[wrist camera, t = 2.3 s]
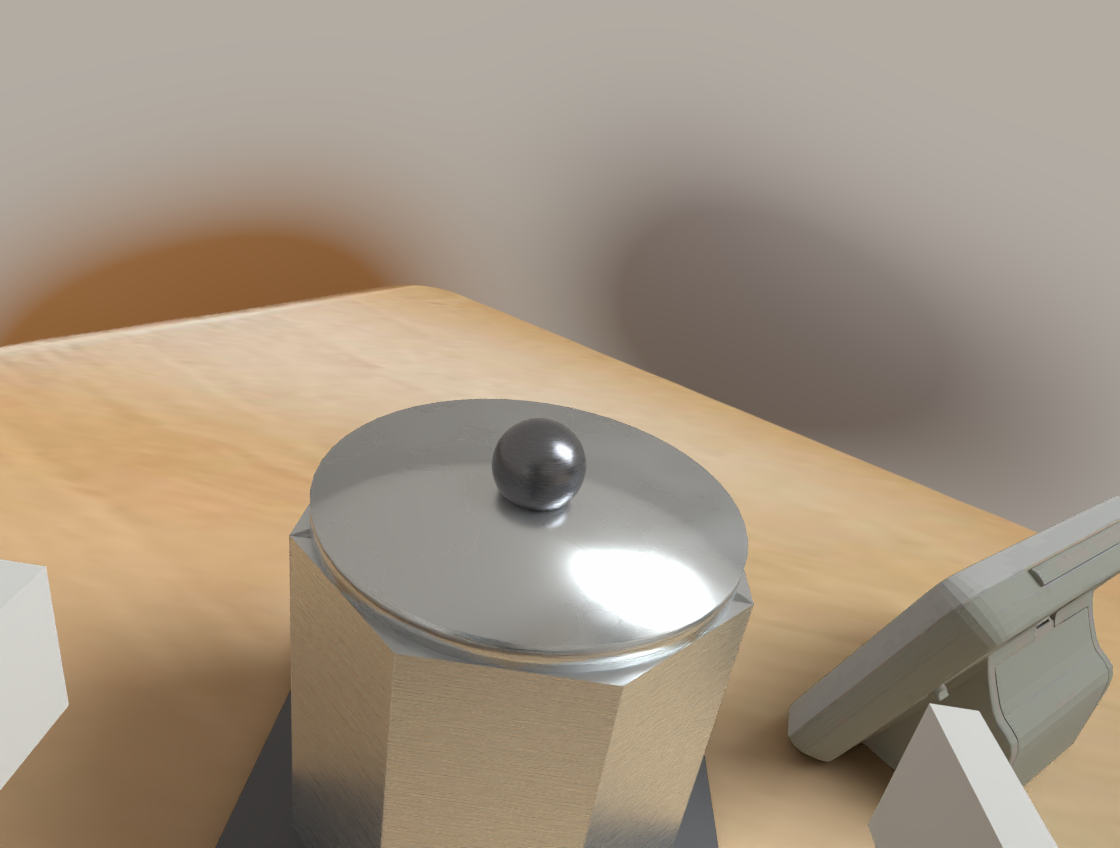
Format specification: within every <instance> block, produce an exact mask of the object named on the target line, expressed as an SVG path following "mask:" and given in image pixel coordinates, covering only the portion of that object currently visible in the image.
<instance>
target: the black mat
mask: <svg viewBox="0 0 1120 848" xmlns="http://www.w3.org/2000/svg"><path fill="white" fill-rule="evenodd" d="M216 848H306V847H305V846H304V844H303V842H302V841H301V839H300V837H299V836H298V834H297V832H296V831H295V829H294V828H293V827H292V737H291V690H290V692H289V695H288V697H287V699H286V701H285V703H284V705H283V707H282V709H281V711H280V713H279V716H278V718H277V720H276V722H275V724H274V726H273V728H272V730H271V732H270V734H269V737H268V739H267V741H266V743H265V745H264V747H263V749H262V751H261V753H260V755H259V758H258V760H257V762H256V764H255V766H254V768H253V770H252V772H251V774H250V776H249V779H248V781H247V783H246V785H245V787H244V789H243V791H242V793H241V795H240V797H239V800H238V802H237V804H236V806H235V808H234V810H233V812H232V814H231V816H230V818H229V821H228V823H227V825H226V827H225V829H224V831H223V833H222V835H221V837H220V839H219V842H218V844H217V846H216ZM673 848H718V842H717V835H716V829H715V822H714V815H713V809H712V802H711V795H710V789H709V782H708V776H707V769H706V762H705V756H703V759H702V762H701V765H700V768H699V771H698V774H697V777H696V780H695V783H694V786H693V789H692V792H691V795H690V798H689V801H688V805H687V808H686V811H685V814H684V817H683V820H682V823H681V826H680V829H679V832H678V835H677V838H676V841H675V844H674V847H673Z"/></svg>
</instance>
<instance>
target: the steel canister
mask: <svg viewBox="0 0 1120 848" xmlns="http://www.w3.org/2000/svg"><path fill="white" fill-rule="evenodd" d="M289 544H290V640H291V737H292V827H293V828H294V829H295V831H296V832H297V834H298V836H299V837H300V839H301V841H302V842H303V844H304V846H305V847H306V848H673V847H674V844H675V841H676V838H677V835H678V832H679V829H680V826H681V823H682V820H683V817H684V814H685V811H686V808H687V805H688V801H689V798H690V795H691V792H692V789H693V786H694V783H695V780H696V777H697V774H698V771H699V768H700V765H701V762H702V759H703V756H704V753H705V750H706V747H707V744H708V741H709V738H710V735H711V732H712V729H713V726H714V723H715V720H716V717H717V714H718V711H719V708H720V705H721V702H722V699H723V696H724V693H725V690H726V687H727V684H728V681H729V678H730V675H731V672H732V669H733V666H734V663H735V660H736V657H737V653H738V650H739V647H740V644H741V641H742V638H743V635H744V632H745V629H746V626H747V623H748V620H749V617H750V614H751V611H752V608H753V605H754V603H753V600H752V596H751V593H750V589H749V585H748V582H747V578H746V575H745V571H744V566H745V563H746V560H747V556H748V537H747V532H746V527H745V523H744V521H743V519H742V516H741V514H740V511H739V509H738V507H737V506H736V504H735V503H734V501H733V500H732V498H731V496H730V495H729V494H728V492H727V491H726V490H725V489H724V488H723V486H722V485H721V484H720V483H719V482H718V481H717V480H716V479H715V478H714V477H713V476H712V475H711V474H710V473H709V472H708V471H707V470H706V469H704V468H703V467H702V466H701V465H699V464H698V463H697V462H695V461H694V460H693V459H691V458H690V457H689V456H687V455H686V454H684V453H683V452H681V451H679V450H678V449H676V448H675V447H673V446H671V445H670V444H668V443H666V442H664V441H662V440H660V439H658V438H656V437H655V436H653V435H650V434H648V433H646V432H644V431H641V430H639V429H637V428H635V427H632V426H630V425H627V424H624V423H621V422H619V421H616V420H613V419H610V418H607V417H604V416H600V415H597V414H594V413H590V412H586V411H582V410H578V409H573V408H569V407H564V406H558V405H553V404H547V403H539V402H531V401H522V400H507V399H468V400H454V401H445V402H437V403H431V404H426V405H420V406H415V407H412V408H408V409H404V410H400V411H396V412H394V413H391V414H388V415H385V416H383V417H380V418H377V419H375V420H373V421H371V422H369V423H367V424H365V425H363V426H361V427H359V428H358V429H356V430H354V431H353V432H351V433H350V434H348V435H347V436H345V437H344V438H343V439H342V440H340V441H339V442H338V443H337V444H336V445H335V446H334V447H332V448H331V450H330V451H329V452H328V453H327V455H326V456H325V457H324V458H323V459H322V461H321V463H320V465H319V466H318V468H317V470H316V472H315V474H314V477H313V481H312V485H311V489H310V504H309V505H308V507H307V509H306V510H305V512H304V513H303V515H302V516H301V518H300V520H299V521H298V523H297V524H296V526H295V528H294V529H293V531H292V532H291V534H290V535H289Z"/></svg>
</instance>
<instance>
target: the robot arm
mask: <svg viewBox="0 0 1120 848" xmlns="http://www.w3.org/2000/svg"><path fill="white" fill-rule="evenodd" d="M68 706H69V703H68V697H67V691H66V685H65V679H64V672H63V666H62V660H61V654H60V648H59V642H58V636H57V630H56V624H55V618H54V612H53V606H52V600H51V594H50V588H49V582H48V576H47V569H46V566H39V565H33V564H27V563H20V562H14V561H7V560H1V559H0V790H1V789H2V787H3V786H4V785H5V784H6V782H7V781H8V780H9V779H10V778H11V776H12V775H13V774H14V773H15V771H16V770H17V769H18V768H19V766H20V765H21V764H22V763H23V761H24V760H25V759H26V758H27V756H28V755H29V754H30V753H31V752H32V750H33V749H34V748H35V747H36V745H37V744H38V743H39V742H40V740H41V739H42V738H43V737H44V735H45V734H46V733H47V732H48V730H49V729H50V728H51V727H52V725H53V724H54V723H55V722H56V721H57V719H58V718H59V717H60V716H61V714H62V713H63V712H64V711H65V709H66V708H67V707H68ZM868 826H869V829H870V832H871V835H872V838H873V841H874V843H875V846H876V848H1058V847H1057V845H1056V843H1055V841H1054V840H1053V838H1052V836H1051V834H1050V833H1049V831H1048V829H1047V828H1046V826H1045V824H1044V822H1043V821H1042V819H1041V817H1040V815H1039V814H1038V812H1037V810H1036V809H1035V807H1034V805H1033V803H1032V802H1031V800H1030V798H1029V796H1028V795H1027V793H1026V791H1025V790H1024V788H1023V786H1022V784H1021V783H1020V781H1019V779H1018V777H1017V776H1016V774H1015V772H1014V771H1013V769H1012V767H1011V765H1010V764H1009V762H1008V760H1007V758H1006V757H1005V755H1004V753H1003V752H1002V750H1001V748H1000V746H999V745H998V743H997V741H996V739H995V738H994V736H993V734H992V733H991V731H990V729H989V727H988V726H987V724H986V722H985V720H984V719H983V717H982V715H981V714H980V712H979V711H976V710H970V709H963V708H957V707H950V706H944V705H937V704H931V703H929V705H928V707H927V709H926V711H925V713H924V715H923V717H922V719H921V721H920V723H919V725H918V727H917V729H916V731H915V733H914V735H913V737H912V739H911V741H910V743H909V744H908V746H907V748H906V750H905V752H904V754H903V756H902V758H901V760H900V762H899V764H898V766H897V768H896V770H895V772H894V774H893V776H892V778H891V780H890V782H889V784H888V786H887V788H886V790H885V792H884V794H883V796H882V798H881V800H880V802H879V804H878V806H877V808H876V809H875V811H874V813H873V815H872V817H871V819H870V821H869V823H868Z"/></svg>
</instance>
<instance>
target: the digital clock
mask: <svg viewBox="0 0 1120 848" xmlns="http://www.w3.org/2000/svg"><path fill="white" fill-rule="evenodd" d="M1119 573H1120V496H1115V497H1113V498H1110V499H1108V500H1106V501H1104V502H1102V503H1100V504H1097V505H1095V506H1094V507H1092V508H1089V509H1087V510H1085V511H1083V512H1081V513H1079V514H1077V515H1075V516H1073V517H1071V518H1069V519H1067V520H1064V521H1062V522H1060V523H1058V524H1056V525H1054V526H1052V527H1050V528H1048V529H1046V530H1044V531H1042V532H1040V533H1037V534H1035V535H1033V536H1031V537H1029V538H1027V539H1025V540H1023V541H1021V542H1019V543H1017V544H1015V545H1013V546H1011V547H1009V548H1006V549H1004V550H1002V551H1000V552H998V553H996V554H994V555H992V556H990V557H988V558H986V559H984V560H982V561H980V562H977V563H975V564H973V565H971V566H969V567H967V568H966V569H964V570H962V571H960V572H958V573H956V574H954V575H952V576H950V577H948V578H946V579H945V580H943V581H942V582H940V583H939V584H937V585H936V586H935V587H933V588H932V589H931V590H929V591H928V592H927V593H926V594H924V595H923V596H922V597H921V598H920V599H918V600H917V601H916V602H915V603H913V604H912V605H911V606H910V607H908V608H907V609H906V610H905V611H904V612H902V613H901V614H900V615H899V616H898V617H896V618H895V619H894V620H893V621H891V622H890V623H889V624H888V625H887V626H885V627H884V628H883V629H882V630H881V631H879V632H878V633H877V634H876V635H875V636H873V637H872V638H871V639H870V640H869V641H867V642H866V643H865V644H864V645H862V646H861V647H860V648H859V649H858V650H856V651H855V652H854V653H853V654H852V655H850V656H849V657H848V658H847V659H846V660H844V661H843V662H842V663H841V664H839V665H838V666H837V667H836V668H835V669H833V670H832V671H831V672H830V673H829V674H827V675H826V676H825V677H824V678H823V679H821V680H820V681H819V682H818V683H816V684H815V685H814V686H813V687H812V688H810V689H809V690H808V691H807V692H806V693H804V694H803V695H802V696H801V697H800V698H798V699H797V700H796V701H795V702H794V703H793V704H792V705H791V706H790V707H789V718H788V738H790V741H791V742H792V743H793V745H794V746H795V747H796V748H797V749H799V750H800V751H801V752H802V753H804V754H806V755H808V756H810V757H813V758H815V759H818V760H822V761H825V762H830V761H832V760H834V759H835V758H837V757H838V756H840V755H842V754H843V753H845V752H846V751H848V750H850V749H851V748H853V747H854V746H856V745H857V744H859V743H861V742H862V743H864V744H865V745H866V746H867V747H868V748H869V749H870V750H872V751H873V752H874V753H875V754H876V755H877V756H878V757H880V758H881V759H882V760H883V761H884V762H885V763H886V764H888V765H889V766H890V767H891V768H892V769H893V770H894V771H895V770H896V768H897V766H898V764H899V762H900V760H901V758H902V756H903V754H904V752H905V750H906V748H907V746H908V744H909V743H910V741H911V739H912V737H913V735H914V733H915V731H916V729H917V727H918V725H919V723H920V721H921V719H922V717H923V715H924V713H925V711H926V709H927V707H928V705H929V703H931V704H937V705H944V706H950V707H957V708H963V709H970V710H976V711H979V712H980V714H981V715H982V717H983V719H984V720H985V722H986V724H987V726H988V727H989V729H990V731H991V733H992V734H993V736H994V738H995V739H996V741H997V743H998V745H999V746H1000V748H1001V750H1002V752H1003V753H1004V755H1005V757H1006V758H1007V760H1008V762H1009V764H1010V765H1011V767H1012V769H1013V771H1014V772H1015V774H1016V776H1017V777H1018V779H1019V781H1020V783H1021V784H1022V786H1024V785H1025V784H1026V783H1028V782H1029V781H1030V780H1031V779H1032V778H1033V777H1035V776H1036V775H1037V774H1038V773H1039V772H1040V771H1042V770H1043V769H1044V768H1045V767H1046V766H1047V765H1049V764H1050V763H1051V762H1052V761H1053V760H1054V759H1056V758H1057V757H1058V756H1059V755H1060V754H1061V753H1062V752H1064V751H1065V750H1066V749H1067V748H1068V747H1069V746H1071V745H1072V744H1073V743H1074V741H1075V740H1076V738H1077V736H1078V735H1079V733H1080V732H1081V730H1082V728H1083V727H1084V725H1085V724H1086V722H1087V721H1088V719H1089V717H1090V716H1091V714H1092V713H1093V711H1094V709H1095V708H1096V706H1097V705H1098V703H1099V701H1100V700H1101V698H1102V697H1103V695H1104V694H1105V692H1106V690H1107V688H1108V686H1109V684H1110V682H1111V679H1112V676H1113V665H1112V664H1111V662H1110V660H1109V659H1108V657H1107V656H1106V654H1105V653H1104V652H1103V650H1102V649H1101V648H1100V645H1099V643H1098V640H1097V637H1096V631H1095V626H1094V618H1093V602H1092V598H1093V592H1094V590H1095V589H1097V588H1098V587H1100V586H1101V585H1103V584H1104V583H1105V582H1107V581H1108V580H1110V579H1111V578H1113V577H1114V576H1116V575H1117V574H1119Z"/></svg>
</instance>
